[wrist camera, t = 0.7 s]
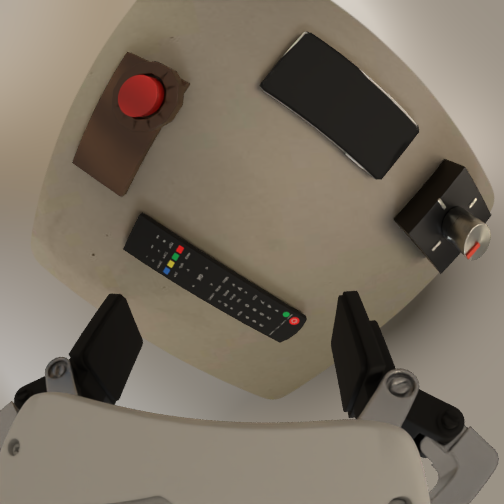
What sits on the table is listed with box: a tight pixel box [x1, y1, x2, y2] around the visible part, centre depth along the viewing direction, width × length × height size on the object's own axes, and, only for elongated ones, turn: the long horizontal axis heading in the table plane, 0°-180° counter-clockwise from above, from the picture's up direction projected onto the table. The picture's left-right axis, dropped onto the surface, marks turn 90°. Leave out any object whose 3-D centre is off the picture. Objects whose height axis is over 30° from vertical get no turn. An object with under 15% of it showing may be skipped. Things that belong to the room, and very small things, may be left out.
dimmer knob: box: [442, 207, 491, 260], centre depth 21 cm, size 4×4×5 cm
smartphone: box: [260, 32, 419, 179], centre depth 22 cm, size 8×1×15 cm
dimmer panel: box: [394, 159, 491, 274], centre depth 25 cm, size 10×8×4 cm
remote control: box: [123, 213, 307, 342], centre depth 32 cm, size 5×24×1 cm, turn 54°
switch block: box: [72, 52, 190, 197], centre depth 23 cm, size 14×9×3 cm, turn 144°
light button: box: [118, 75, 164, 117], centre depth 20 cm, size 4×4×2 cm
